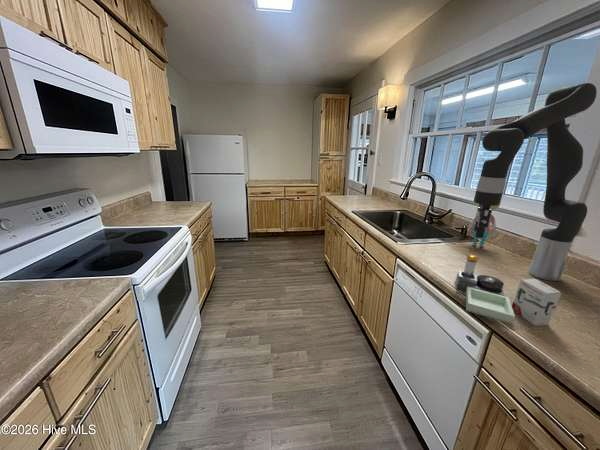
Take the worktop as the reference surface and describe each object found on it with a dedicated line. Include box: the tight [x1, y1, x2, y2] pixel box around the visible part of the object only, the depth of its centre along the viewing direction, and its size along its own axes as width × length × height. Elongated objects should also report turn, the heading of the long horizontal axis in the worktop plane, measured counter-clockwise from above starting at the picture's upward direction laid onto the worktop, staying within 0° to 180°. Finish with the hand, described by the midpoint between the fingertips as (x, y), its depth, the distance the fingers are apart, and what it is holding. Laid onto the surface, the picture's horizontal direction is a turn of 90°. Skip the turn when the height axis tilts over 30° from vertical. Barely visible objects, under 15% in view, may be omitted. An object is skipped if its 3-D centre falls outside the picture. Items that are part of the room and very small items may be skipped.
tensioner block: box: [455, 269, 505, 296], centre depth 92 cm, size 14×10×6 cm
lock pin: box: [463, 254, 479, 278], centre depth 93 cm, size 3×3×10 cm
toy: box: [466, 201, 502, 248], centre depth 131 cm, size 13×10×30 cm
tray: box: [464, 287, 516, 325], centre depth 82 cm, size 12×12×3 cm
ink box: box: [511, 278, 562, 327], centre depth 77 cm, size 9×5×12 cm, turn 5°
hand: (478, 234), depth 89 cm, fingers open, 8 cm apart
